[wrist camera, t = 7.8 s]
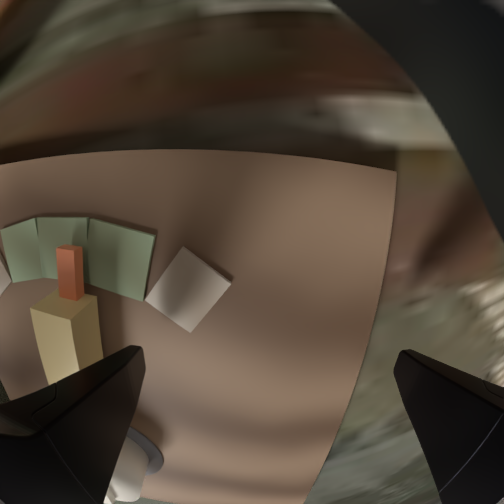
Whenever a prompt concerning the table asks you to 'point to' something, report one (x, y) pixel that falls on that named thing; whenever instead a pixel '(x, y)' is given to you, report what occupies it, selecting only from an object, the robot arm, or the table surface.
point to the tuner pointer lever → (81, 355)
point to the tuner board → (208, 301)
